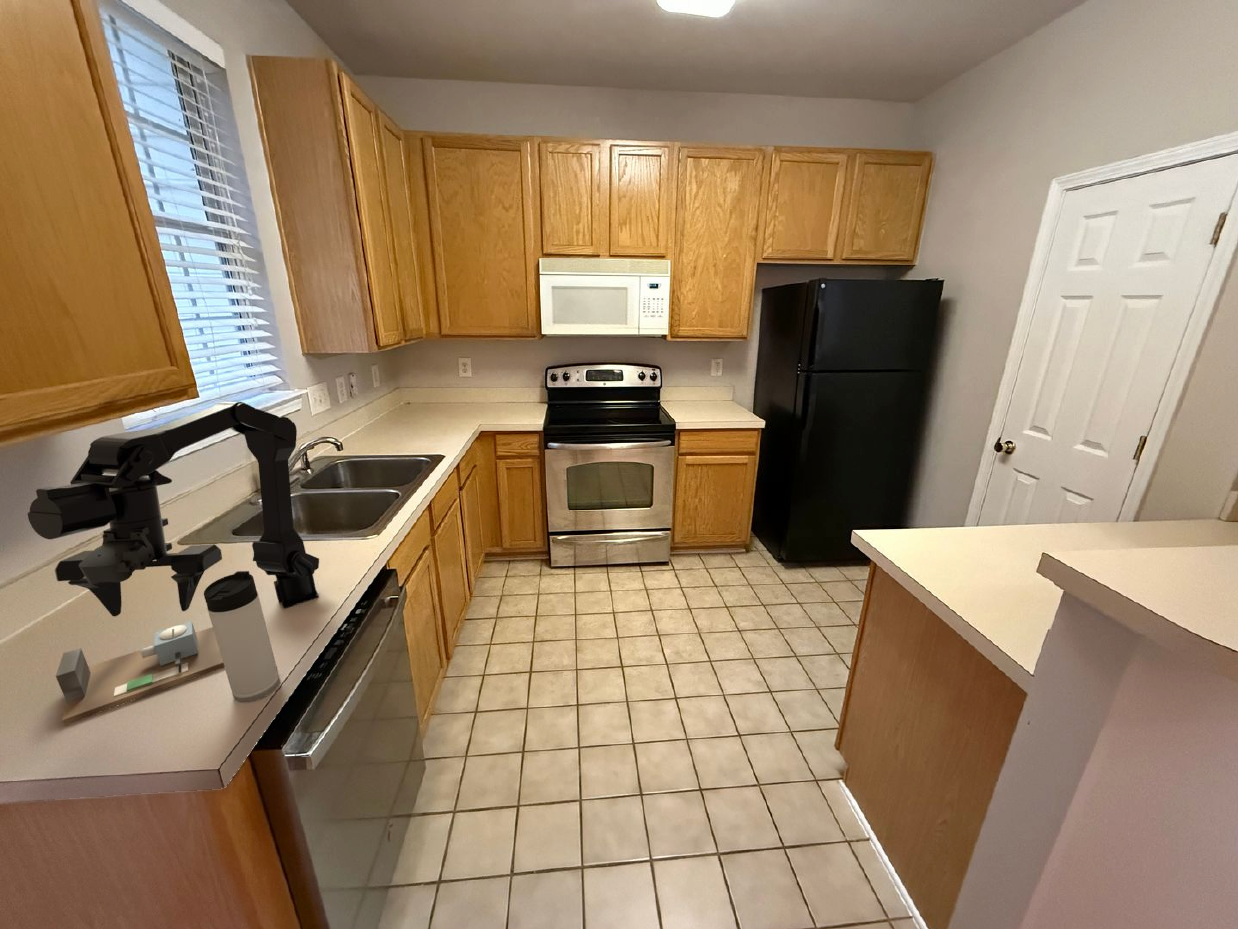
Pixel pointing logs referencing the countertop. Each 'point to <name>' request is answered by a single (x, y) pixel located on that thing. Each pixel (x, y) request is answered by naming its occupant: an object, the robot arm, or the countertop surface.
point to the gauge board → (128, 677)
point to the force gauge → (173, 644)
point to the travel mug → (242, 636)
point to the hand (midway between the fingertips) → (151, 612)
